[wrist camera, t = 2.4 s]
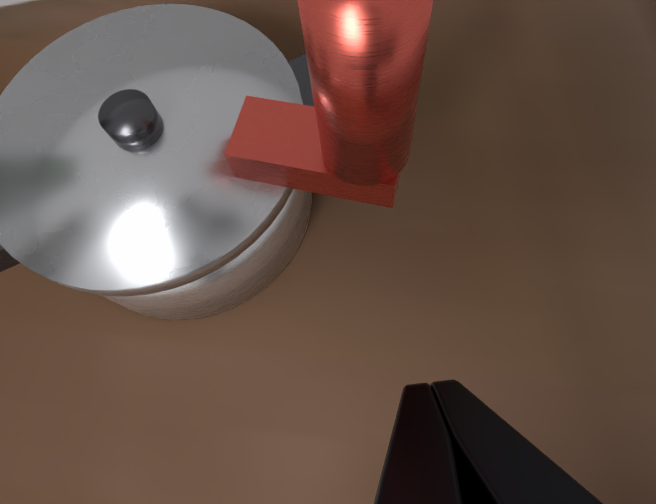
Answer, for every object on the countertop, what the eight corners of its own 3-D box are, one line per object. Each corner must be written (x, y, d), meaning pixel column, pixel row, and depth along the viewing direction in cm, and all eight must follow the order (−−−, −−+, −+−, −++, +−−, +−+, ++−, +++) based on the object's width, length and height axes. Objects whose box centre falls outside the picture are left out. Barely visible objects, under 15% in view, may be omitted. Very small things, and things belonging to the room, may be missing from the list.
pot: (71, 385, 19) (-11, 372, 15) (15, 174, 23) (-62, 117, 19) (416, 220, 21) (428, 166, 17) (310, 46, 25) (298, -33, 20)
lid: (-68, 255, 16) (-444, 101, 9) (74, 3, 20) (-104, -258, 13) (365, 362, 14) (363, 278, 6) (434, 54, 18) (484, -228, 10)
